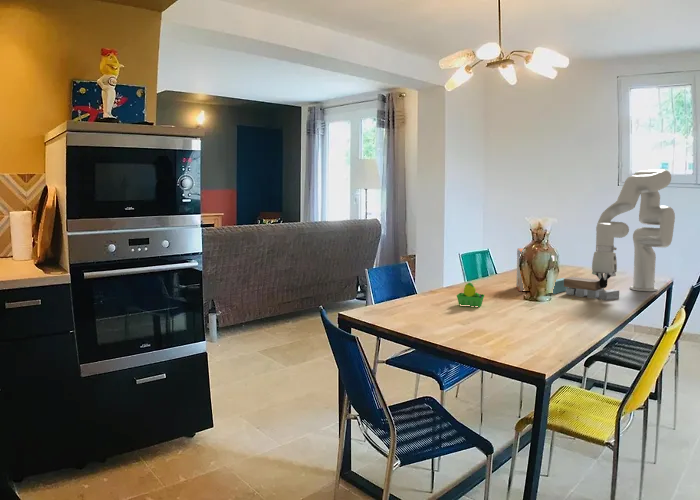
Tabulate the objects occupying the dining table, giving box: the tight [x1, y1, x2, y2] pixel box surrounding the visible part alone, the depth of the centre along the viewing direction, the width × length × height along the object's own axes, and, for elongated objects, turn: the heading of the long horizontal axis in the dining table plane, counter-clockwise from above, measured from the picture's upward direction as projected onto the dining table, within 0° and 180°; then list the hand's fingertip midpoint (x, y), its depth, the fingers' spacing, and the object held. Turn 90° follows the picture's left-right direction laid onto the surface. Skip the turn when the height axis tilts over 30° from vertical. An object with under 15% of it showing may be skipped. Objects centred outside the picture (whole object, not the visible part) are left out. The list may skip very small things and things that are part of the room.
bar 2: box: [575, 288, 587, 298], centre depth 265 cm, size 9×4×4 cm, turn 139°
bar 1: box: [565, 287, 576, 296], centre depth 269 cm, size 8×4×3 cm, turn 135°
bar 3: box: [586, 288, 605, 300], centre depth 261 cm, size 9×4×4 cm, turn 132°
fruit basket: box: [456, 282, 485, 308], centre depth 245 cm, size 11×9×11 cm
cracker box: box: [515, 247, 524, 292], centre depth 282 cm, size 14×6×21 cm, turn 168°
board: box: [564, 276, 601, 291], centre depth 265 cm, size 9×15×4 cm, turn 41°
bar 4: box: [598, 288, 620, 301], centre depth 256 cm, size 9×4×4 cm, turn 117°
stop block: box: [552, 277, 568, 295], centre depth 275 cm, size 14×3×6 cm, turn 132°
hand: (603, 287), depth 258 cm, fingers closed
